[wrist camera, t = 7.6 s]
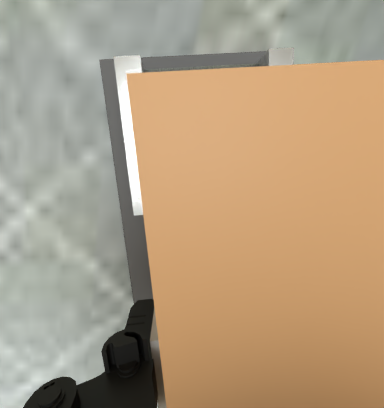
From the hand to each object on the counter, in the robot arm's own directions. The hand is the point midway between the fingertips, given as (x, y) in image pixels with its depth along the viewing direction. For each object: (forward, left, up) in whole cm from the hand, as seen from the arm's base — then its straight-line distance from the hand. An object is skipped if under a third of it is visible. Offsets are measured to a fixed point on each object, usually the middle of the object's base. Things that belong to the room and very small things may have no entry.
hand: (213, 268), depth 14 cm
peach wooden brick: (0, 0, -1) cm, 1 cm away
